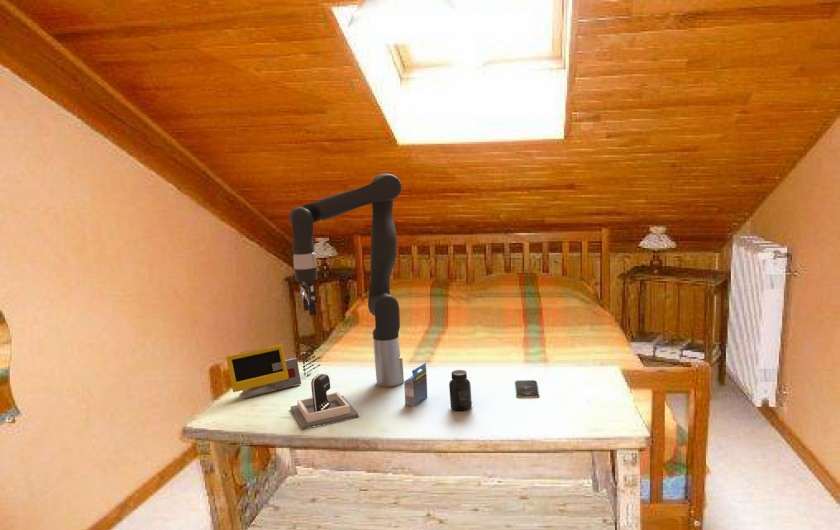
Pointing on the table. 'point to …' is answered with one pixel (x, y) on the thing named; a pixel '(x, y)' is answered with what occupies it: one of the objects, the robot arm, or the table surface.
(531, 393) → the smartphone
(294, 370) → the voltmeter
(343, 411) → the tray
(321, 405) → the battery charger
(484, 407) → the table surface
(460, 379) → the supplement bottle
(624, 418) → the table surface
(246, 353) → the toy computer monitor
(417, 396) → the label tape box
